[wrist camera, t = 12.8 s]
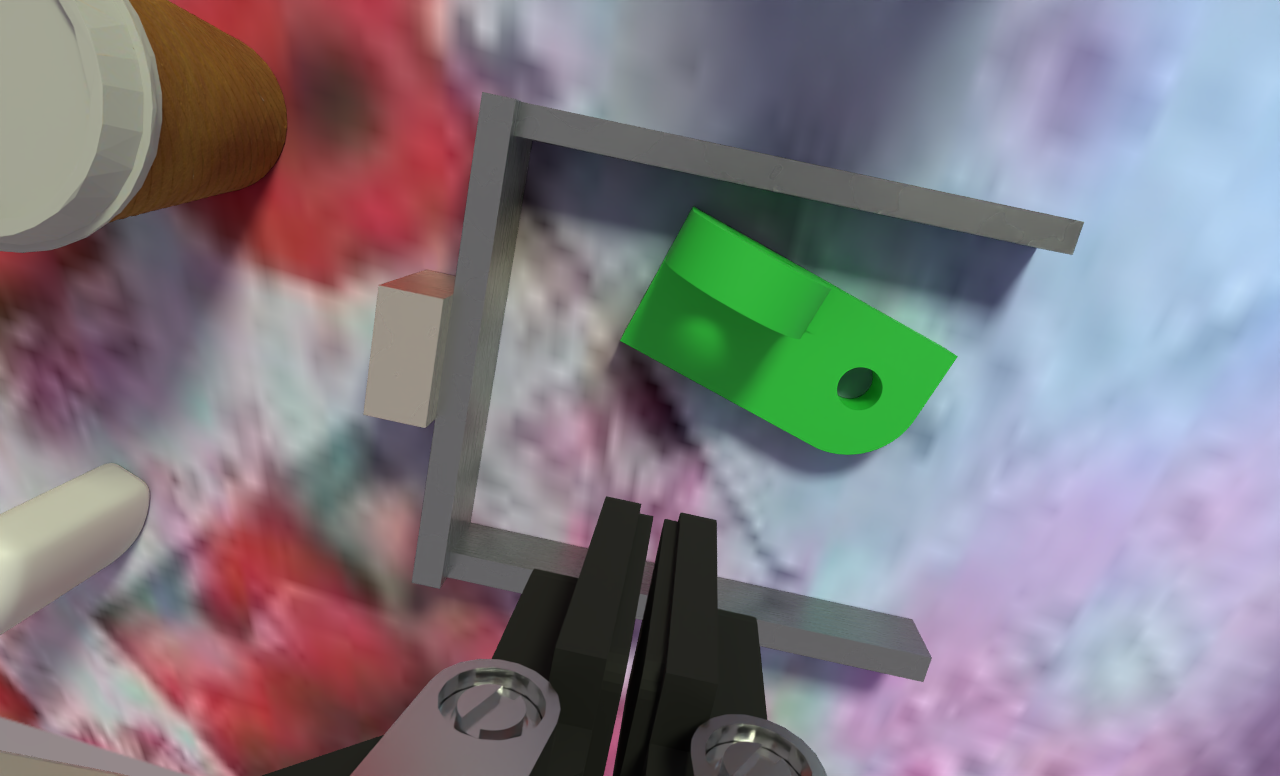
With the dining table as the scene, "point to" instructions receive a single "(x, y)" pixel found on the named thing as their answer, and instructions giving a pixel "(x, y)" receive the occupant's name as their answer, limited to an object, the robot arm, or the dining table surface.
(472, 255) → the drawer frame
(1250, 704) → the dining table surface
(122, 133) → the disposable coffee cup
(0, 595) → the eye dropper bottle
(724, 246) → the mechanical part
